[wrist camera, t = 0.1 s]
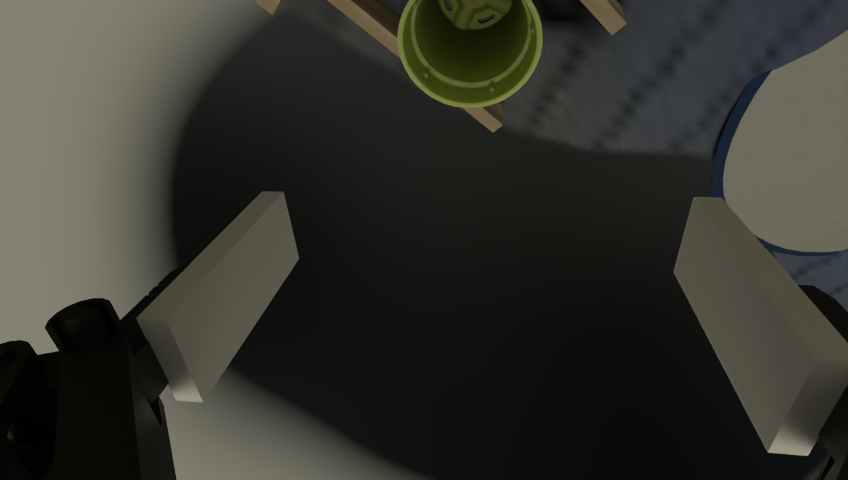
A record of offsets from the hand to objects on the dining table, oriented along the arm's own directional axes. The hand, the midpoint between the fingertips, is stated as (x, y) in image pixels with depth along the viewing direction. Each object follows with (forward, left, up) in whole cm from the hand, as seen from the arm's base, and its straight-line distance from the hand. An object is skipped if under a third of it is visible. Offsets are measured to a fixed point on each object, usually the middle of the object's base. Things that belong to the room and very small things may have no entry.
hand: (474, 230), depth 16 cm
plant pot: (+4, +2, -28) cm, 28 cm away
